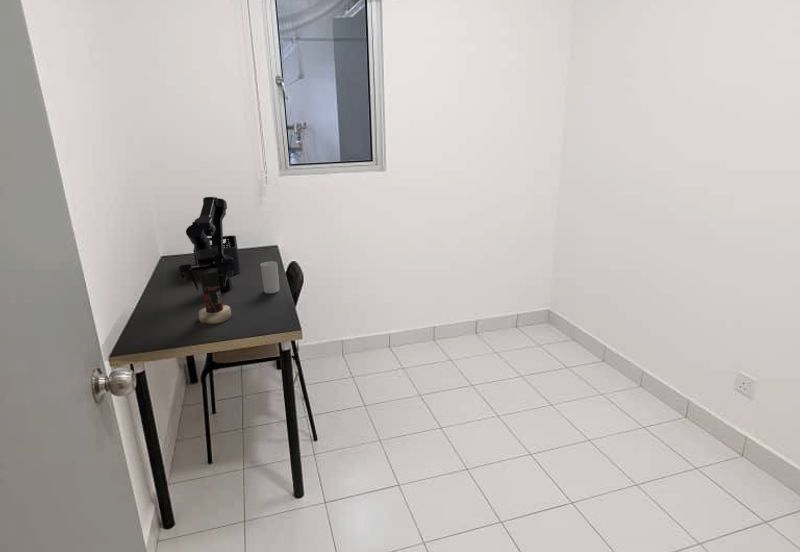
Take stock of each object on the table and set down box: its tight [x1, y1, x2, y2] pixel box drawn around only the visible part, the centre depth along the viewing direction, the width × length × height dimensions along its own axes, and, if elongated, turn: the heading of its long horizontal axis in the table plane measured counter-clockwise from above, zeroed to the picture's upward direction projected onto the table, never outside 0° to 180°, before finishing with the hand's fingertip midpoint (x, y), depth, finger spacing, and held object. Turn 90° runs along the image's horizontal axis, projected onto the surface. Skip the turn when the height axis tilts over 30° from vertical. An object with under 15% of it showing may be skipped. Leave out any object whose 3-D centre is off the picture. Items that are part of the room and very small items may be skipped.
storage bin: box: [193, 235, 242, 279], centre depth 239 cm, size 29×19×13 cm
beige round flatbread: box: [198, 304, 232, 325], centre depth 181 cm, size 11×11×3 cm
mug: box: [260, 261, 280, 294], centre depth 207 cm, size 10×7×12 cm, turn 9°
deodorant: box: [200, 269, 224, 313], centre depth 178 cm, size 6×6×15 cm
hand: (211, 287), depth 176 cm, fingers open, 9 cm apart
